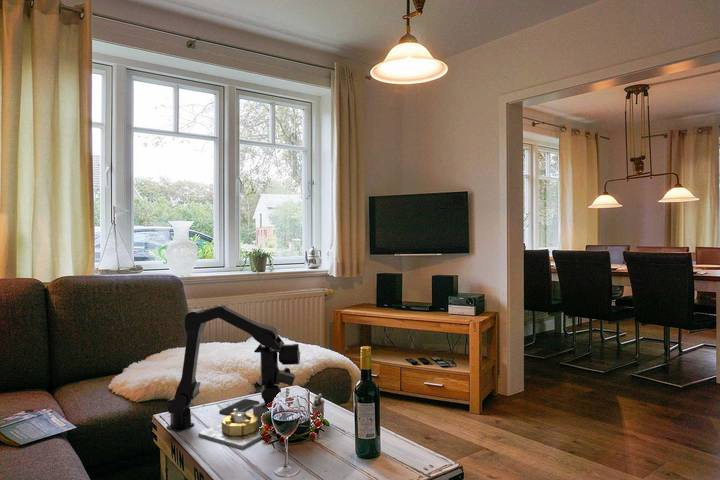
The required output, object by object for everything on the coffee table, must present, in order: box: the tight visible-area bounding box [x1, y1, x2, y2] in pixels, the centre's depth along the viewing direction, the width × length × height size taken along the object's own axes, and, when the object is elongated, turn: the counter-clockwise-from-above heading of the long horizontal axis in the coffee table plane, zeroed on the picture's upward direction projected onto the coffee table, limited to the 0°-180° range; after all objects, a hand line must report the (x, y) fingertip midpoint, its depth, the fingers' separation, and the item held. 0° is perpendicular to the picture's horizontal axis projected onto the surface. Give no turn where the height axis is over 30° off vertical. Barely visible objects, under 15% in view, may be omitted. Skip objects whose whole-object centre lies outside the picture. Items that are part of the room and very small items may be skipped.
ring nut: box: [221, 401, 268, 435], centre depth 162 cm, size 18×11×6 cm, turn 134°
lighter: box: [311, 393, 325, 420], centre depth 166 cm, size 8×3×10 cm, turn 168°
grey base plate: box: [198, 408, 262, 450], centre depth 160 cm, size 19×18×6 cm
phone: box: [218, 398, 260, 416], centre depth 182 cm, size 8×1×15 cm
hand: (269, 410), depth 165 cm, fingers closed
